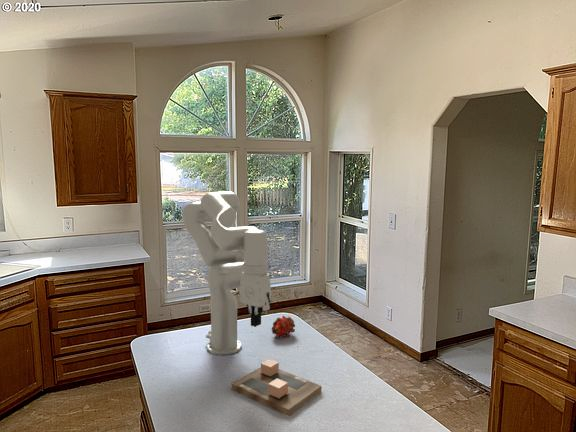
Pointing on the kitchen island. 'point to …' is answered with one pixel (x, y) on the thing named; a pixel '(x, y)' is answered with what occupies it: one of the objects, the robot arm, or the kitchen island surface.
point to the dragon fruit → (283, 327)
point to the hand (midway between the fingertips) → (255, 325)
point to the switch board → (257, 390)
